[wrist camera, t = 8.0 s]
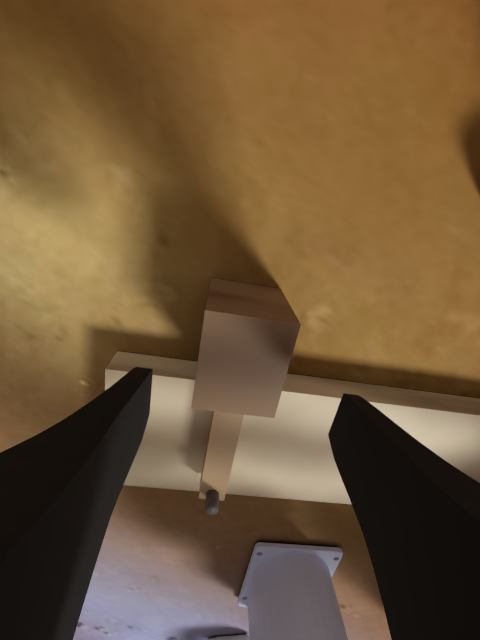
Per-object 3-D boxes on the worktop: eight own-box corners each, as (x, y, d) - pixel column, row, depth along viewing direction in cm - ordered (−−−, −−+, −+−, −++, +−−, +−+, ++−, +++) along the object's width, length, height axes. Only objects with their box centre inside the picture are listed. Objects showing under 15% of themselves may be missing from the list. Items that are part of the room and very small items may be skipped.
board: (441, 489, 24) (459, 513, 22) (115, 458, 22) (104, 483, 20) (497, 400, 21) (523, 420, 19) (117, 351, 18) (104, 369, 16)
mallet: (240, 455, 22) (244, 525, 17) (186, 450, 21) (175, 520, 17) (280, 288, 17) (300, 324, 12) (211, 277, 17) (204, 309, 12)
